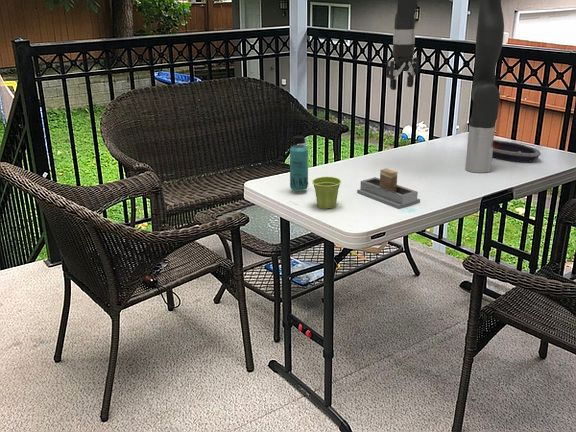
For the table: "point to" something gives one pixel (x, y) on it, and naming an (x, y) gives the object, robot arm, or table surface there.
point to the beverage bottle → (298, 164)
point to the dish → (514, 151)
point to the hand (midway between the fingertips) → (401, 88)
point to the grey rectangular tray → (388, 194)
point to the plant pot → (326, 191)
